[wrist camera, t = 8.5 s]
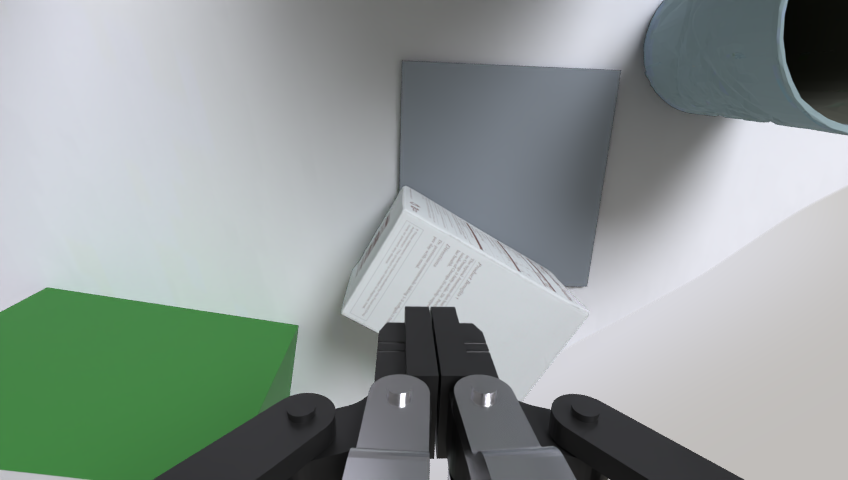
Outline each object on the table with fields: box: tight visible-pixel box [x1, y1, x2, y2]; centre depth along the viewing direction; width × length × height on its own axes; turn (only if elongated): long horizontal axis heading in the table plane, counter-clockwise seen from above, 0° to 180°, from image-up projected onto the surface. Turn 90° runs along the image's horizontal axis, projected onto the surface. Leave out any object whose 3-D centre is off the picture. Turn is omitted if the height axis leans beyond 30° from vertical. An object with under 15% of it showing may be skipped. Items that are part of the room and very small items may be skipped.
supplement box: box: [341, 186, 589, 402], centre depth 29 cm, size 7×7×13 cm
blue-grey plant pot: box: [643, 0, 848, 135], centre depth 23 cm, size 10×10×12 cm
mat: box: [399, 61, 621, 286], centre depth 31 cm, size 15×14×1 cm
